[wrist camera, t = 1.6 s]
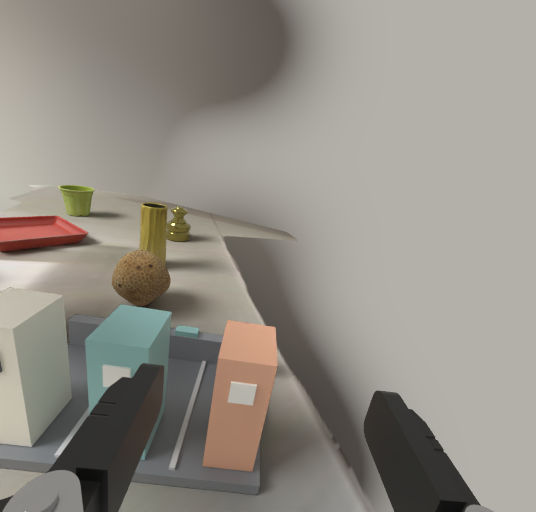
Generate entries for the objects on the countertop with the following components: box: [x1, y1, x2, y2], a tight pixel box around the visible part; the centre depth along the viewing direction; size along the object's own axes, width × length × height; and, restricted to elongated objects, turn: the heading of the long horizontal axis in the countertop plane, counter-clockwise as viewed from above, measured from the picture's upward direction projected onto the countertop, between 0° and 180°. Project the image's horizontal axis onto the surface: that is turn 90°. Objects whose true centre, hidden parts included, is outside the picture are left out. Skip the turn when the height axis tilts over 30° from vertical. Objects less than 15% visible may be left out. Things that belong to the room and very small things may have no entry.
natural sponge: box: [112, 250, 170, 306], centre depth 46 cm, size 9×9×10 cm
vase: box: [139, 203, 167, 266], centre depth 60 cm, size 6×6×14 cm
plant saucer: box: [0, 216, 88, 252], centre depth 64 cm, size 18×18×3 cm
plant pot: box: [59, 185, 94, 216], centre depth 87 cm, size 9×9×9 cm
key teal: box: [85, 304, 172, 460], centre depth 23 cm, size 5×4×12 cm
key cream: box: [0, 287, 72, 447], centre depth 23 cm, size 5×4×12 cm
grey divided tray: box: [0, 314, 261, 495], centre depth 29 cm, size 15×25×6 cm, turn 91°
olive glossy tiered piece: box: [166, 206, 191, 242], centre depth 82 cm, size 7×7×10 cm
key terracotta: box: [202, 320, 278, 472], centre depth 24 cm, size 5×4×12 cm
